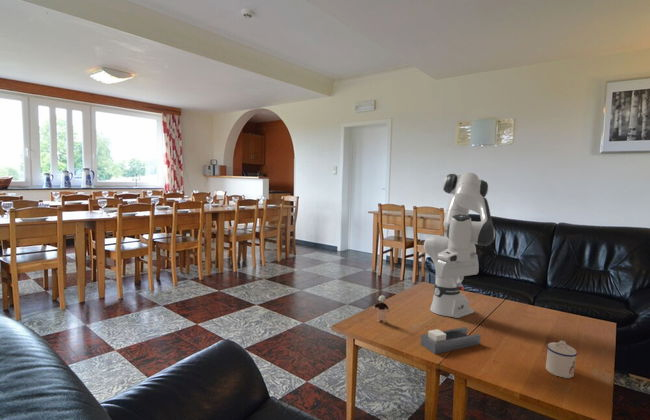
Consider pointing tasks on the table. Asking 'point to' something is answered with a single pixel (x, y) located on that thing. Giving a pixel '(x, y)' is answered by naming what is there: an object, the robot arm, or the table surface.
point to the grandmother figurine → (381, 309)
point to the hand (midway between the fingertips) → (456, 286)
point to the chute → (451, 341)
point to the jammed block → (436, 335)
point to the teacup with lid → (561, 359)
